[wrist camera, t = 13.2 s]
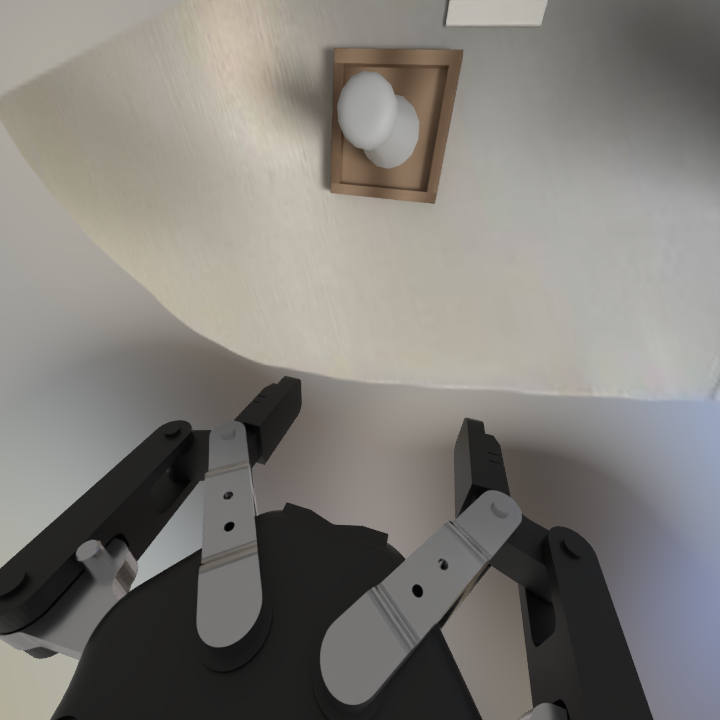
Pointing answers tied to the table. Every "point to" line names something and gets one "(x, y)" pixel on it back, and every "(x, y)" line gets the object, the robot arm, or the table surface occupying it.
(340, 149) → the walnut tray
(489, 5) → the card
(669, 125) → the table surface
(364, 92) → the salt shaker
